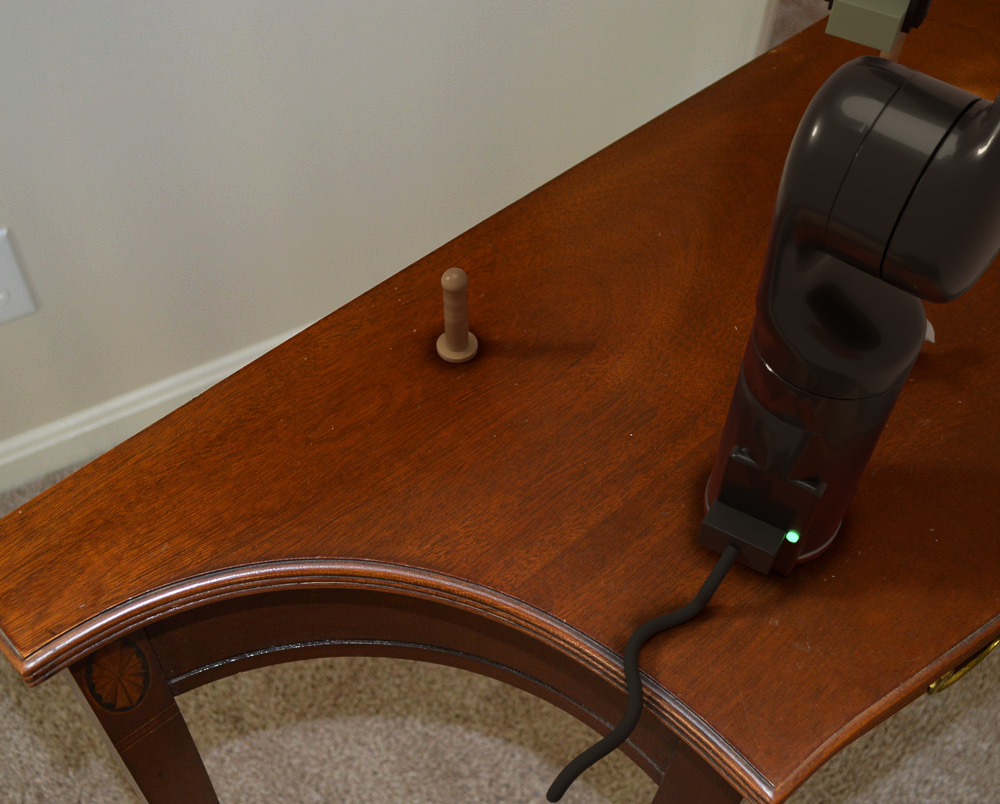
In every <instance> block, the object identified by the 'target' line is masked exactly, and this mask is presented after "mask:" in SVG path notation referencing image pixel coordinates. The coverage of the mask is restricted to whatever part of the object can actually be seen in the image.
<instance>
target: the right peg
mask: <svg viewBox="0 0 1000 804" xmlns="http://www.w3.org/2000/svg"><path fill="white" fill-rule="evenodd" d="M907 36H908V34H906V33H903V34H902V35H901V37H900V38H899V40H898V42H897V43H896V45H895V46H894V48H893V49H892V51H891V52H890V53H888V52H885V51H881V50H880V52H879V56H878V57H881V58H885V59H888V60H890V61H893V62H896V63H899V60H900V57H901V54H902V52H903V48H904V45H905V43H906V39H907Z"/></svg>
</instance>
